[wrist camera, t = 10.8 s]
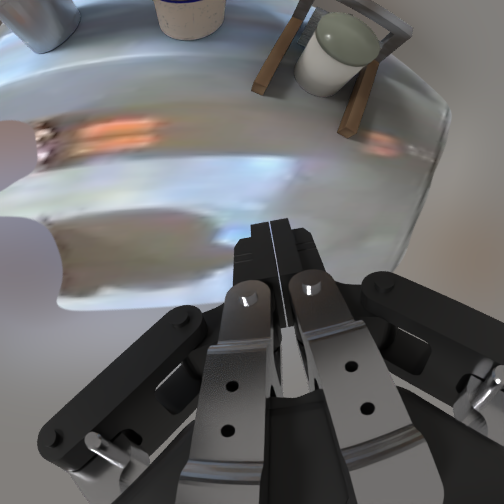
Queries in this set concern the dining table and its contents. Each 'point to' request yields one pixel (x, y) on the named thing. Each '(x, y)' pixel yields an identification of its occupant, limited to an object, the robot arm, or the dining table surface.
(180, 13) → the teacup with lid
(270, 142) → the dining table surface
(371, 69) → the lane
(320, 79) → the jar
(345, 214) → the dining table surface
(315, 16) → the pusher
